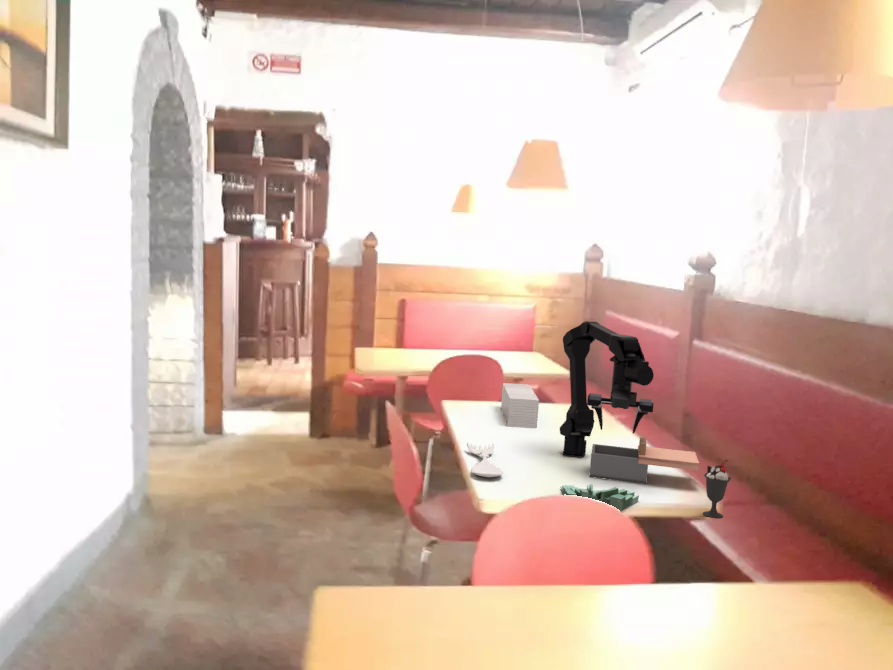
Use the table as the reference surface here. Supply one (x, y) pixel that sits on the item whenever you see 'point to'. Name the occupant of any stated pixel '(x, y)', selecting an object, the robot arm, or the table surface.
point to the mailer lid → (666, 457)
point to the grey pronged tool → (484, 462)
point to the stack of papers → (519, 405)
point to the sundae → (716, 487)
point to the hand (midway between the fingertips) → (617, 431)
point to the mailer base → (617, 464)
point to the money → (604, 495)
